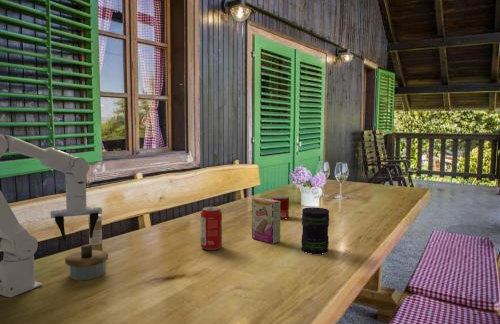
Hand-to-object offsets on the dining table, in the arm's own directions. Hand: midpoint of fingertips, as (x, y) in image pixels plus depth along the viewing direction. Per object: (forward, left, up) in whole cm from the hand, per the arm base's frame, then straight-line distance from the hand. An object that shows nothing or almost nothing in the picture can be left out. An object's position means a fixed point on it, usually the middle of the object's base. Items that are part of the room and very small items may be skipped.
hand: (77, 238), depth 123 cm
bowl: (-1, -6, -10) cm, 11 cm away
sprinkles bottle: (+15, +8, -10) cm, 20 cm away
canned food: (+94, -31, -10) cm, 99 cm away
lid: (-2, -6, -6) cm, 9 cm away
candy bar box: (+56, -40, -10) cm, 69 cm away
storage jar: (+53, -61, -10) cm, 81 cm away
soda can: (+38, -26, -10) cm, 47 cm away
